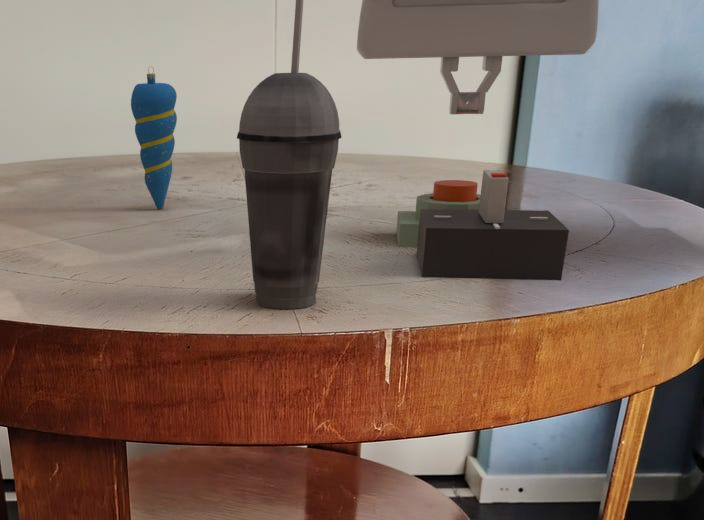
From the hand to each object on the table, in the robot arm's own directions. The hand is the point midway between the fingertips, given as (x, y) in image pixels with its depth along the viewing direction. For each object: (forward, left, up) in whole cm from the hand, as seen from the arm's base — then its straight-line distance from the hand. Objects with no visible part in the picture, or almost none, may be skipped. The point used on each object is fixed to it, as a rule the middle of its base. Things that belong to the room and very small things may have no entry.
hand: (466, 114), depth 81 cm
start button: (0, 0, -8) cm, 8 cm away
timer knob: (-2, +11, -7) cm, 13 cm away
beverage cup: (+14, +24, -12) cm, 30 cm away
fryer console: (-2, +11, -11) cm, 16 cm away
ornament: (+32, -16, -12) cm, 38 cm away
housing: (0, 0, -11) cm, 11 cm away
